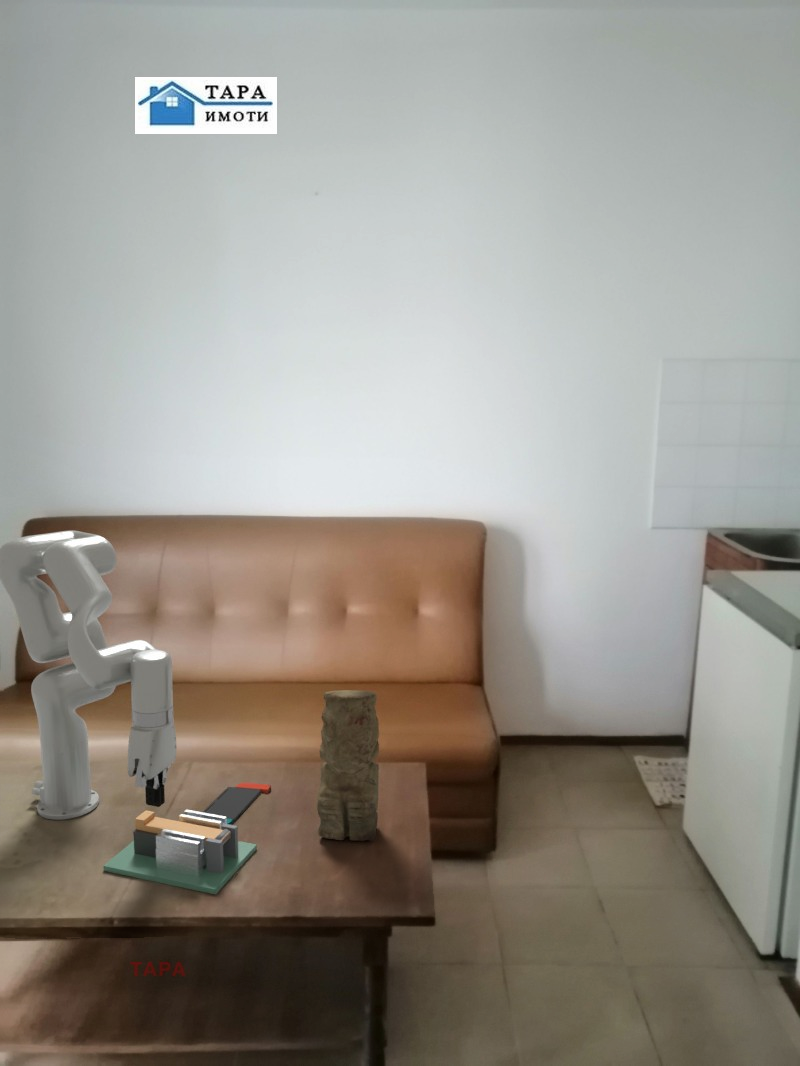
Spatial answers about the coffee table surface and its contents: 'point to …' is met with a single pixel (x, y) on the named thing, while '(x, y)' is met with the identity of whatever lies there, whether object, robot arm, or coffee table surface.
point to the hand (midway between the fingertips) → (155, 803)
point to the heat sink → (186, 845)
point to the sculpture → (349, 766)
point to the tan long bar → (177, 827)
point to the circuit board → (220, 869)
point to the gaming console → (236, 800)
